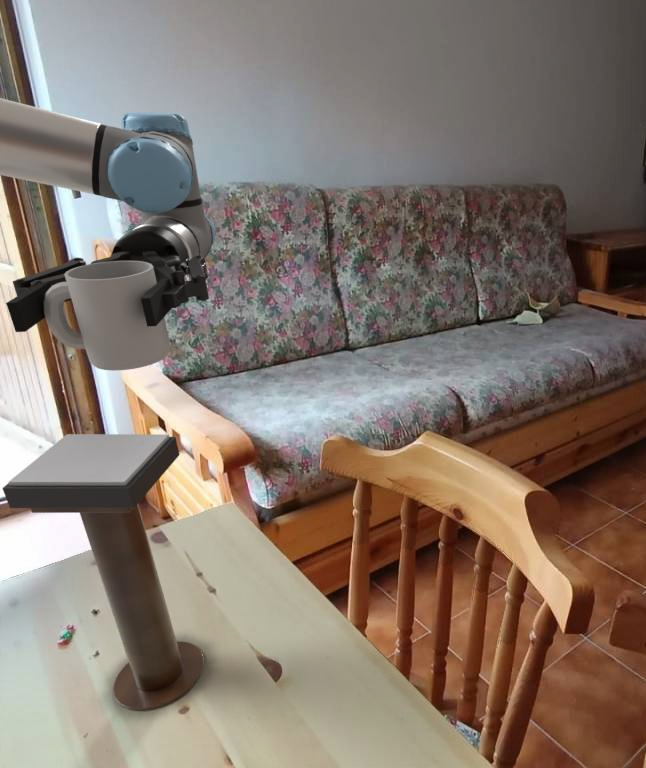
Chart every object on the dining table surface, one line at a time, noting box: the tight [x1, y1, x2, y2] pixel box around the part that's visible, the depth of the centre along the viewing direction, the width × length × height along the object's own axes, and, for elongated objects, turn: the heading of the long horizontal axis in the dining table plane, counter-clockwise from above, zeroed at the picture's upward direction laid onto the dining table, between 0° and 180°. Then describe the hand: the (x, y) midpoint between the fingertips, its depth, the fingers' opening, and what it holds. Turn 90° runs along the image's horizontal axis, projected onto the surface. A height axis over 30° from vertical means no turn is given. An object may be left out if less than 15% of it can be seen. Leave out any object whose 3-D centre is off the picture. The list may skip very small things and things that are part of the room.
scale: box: [2, 433, 180, 509], centre depth 55 cm, size 10×8×2 cm
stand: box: [30, 503, 205, 712], centre depth 61 cm, size 8×8×25 cm
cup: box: [43, 261, 172, 371], centre depth 61 cm, size 7×10×9 cm
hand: (83, 314), depth 56 cm, fingers closed on cup, 10 cm apart
